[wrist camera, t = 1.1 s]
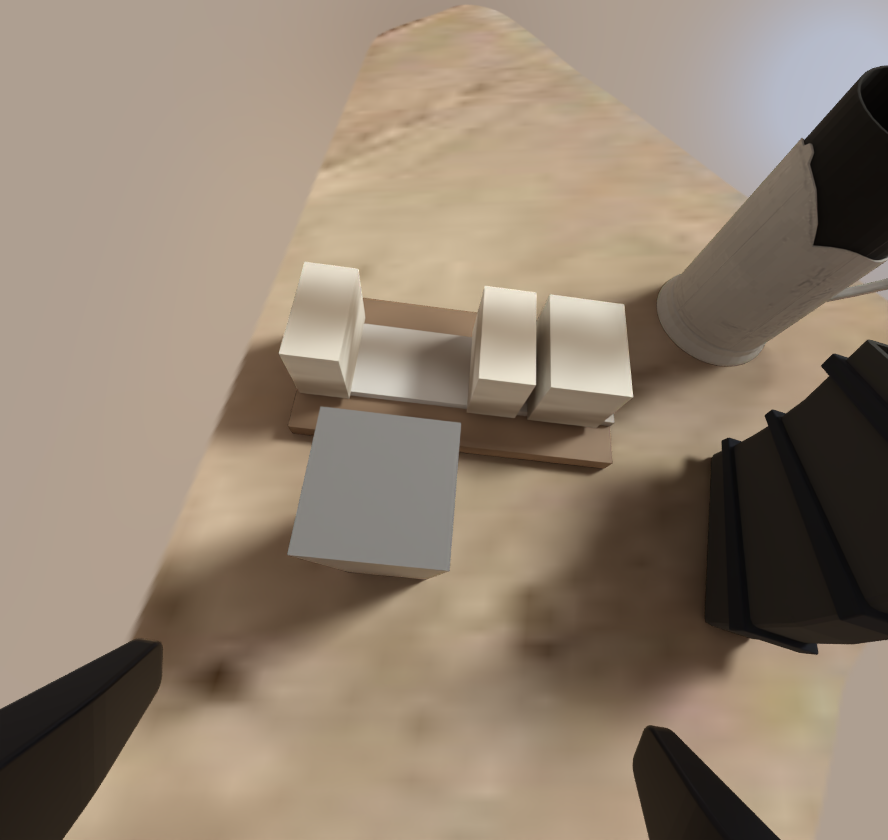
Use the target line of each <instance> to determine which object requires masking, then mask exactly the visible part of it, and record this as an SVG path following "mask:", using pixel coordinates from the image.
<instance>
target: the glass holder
mask: <svg viewBox="0 0 888 840" xmlns="http://www.w3.org/2000/svg"><path fill="white" fill-rule="evenodd" d="M887 260H888V66H880V67H876V68H872V69H870V70H869V71H867V72H865V73H864V74H863V75H862V76H861V77H860V78H859V80H858V81H857V82H856V83H855V84H854V85H853V86H852V87H851V88H850V90H849V91H848V92H847V93H846V94H845V95H844V96H843V97H842V99H841V100H840V101H839V102H838V103H837V104H836V105H835V106H834V108H833V109H832V110H831V111H830V112H829V113H828V114H827V115H826V117H825V118H824V119H823V120H822V121H821V122H820V123H819V124H818V125H817V126H816V128H815V129H814V130H813V131H812V132H811V133H810V135H808V137H807V138H806V139H805V140H804V139H803V138H801V140H799V142H798V143H797V144H796V145H795V146H794V147H793V148H792V149H791V151H790V152H789V153H788V154H787V155H786V156H785V157H784V159H783V160H782V161H781V162H780V163H779V164H778V165H777V166H776V168H775V169H774V170H773V171H772V172H771V173H770V175H769V176H768V177H767V178H766V179H765V180H764V181H763V182H762V183H761V185H760V186H759V187H758V188H757V189H756V190H755V191H754V193H753V194H752V195H751V196H750V197H749V198H748V199H747V200H746V202H745V203H744V204H743V205H742V206H741V207H740V208H739V209H738V211H737V212H736V213H735V214H734V215H733V216H732V217H731V218H730V220H729V221H728V222H727V223H726V224H725V225H724V226H723V228H722V229H721V230H720V231H719V232H718V233H717V234H716V235H715V237H714V238H713V239H712V240H711V241H710V242H709V243H708V245H707V246H706V247H705V248H704V249H703V250H702V251H701V252H700V254H699V255H698V256H697V257H696V258H695V259H694V260H693V261H692V263H691V264H690V265H689V266H688V267H687V268H686V269H685V271H684V272H683V273H681V274H679V275H677V276H675V277H673V278H672V279H670V280H669V281H667V283H666V284H665V285H664V286H663V287H662V288H661V290H660V292H659V295H658V298H657V313H658V317H659V320H660V323H661V325H662V326H663V328H664V330H665V332H666V333H667V334H668V336H669V337H670V338H671V340H672V341H673V342H674V343H675V344H676V345H677V346H678V347H680V348H681V349H682V350H684V351H685V352H686V353H688V354H689V355H691V356H693V357H695V358H696V359H699V360H701V361H704V362H706V363H710V364H713V365H719V366H737V365H741V364H744V363H747V362H749V361H751V360H752V359H753V358H755V357H756V356H757V355H758V354H759V353H760V351H761V350H762V349H763V347H764V345H765V343H766V342H768V341H769V340H771V339H772V338H774V337H775V336H776V335H778V334H779V333H781V332H782V331H784V330H785V329H787V328H788V327H790V326H791V325H793V324H794V323H796V322H797V321H799V320H800V319H802V318H803V317H805V316H806V315H807V314H809V313H810V312H812V311H813V310H815V309H816V308H818V307H819V306H821V305H822V304H824V303H825V302H829V301H834V300H839V299H844V298H850V297H855V296H859V295H864V294H868V293H873V292H878V291H882V290H887V289H888V279H884V280H880V281H875V282H871V283H867V284H863V285H858V286H854V287H849V286H850V285H852V284H853V283H855V282H856V281H858V280H859V279H861V278H862V277H863V276H865V275H866V274H868V273H869V272H871V271H872V270H874V269H875V268H877V267H878V266H880V265H881V264H883V263H884V262H886V261H887ZM847 287H849V288H847Z"/></svg>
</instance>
